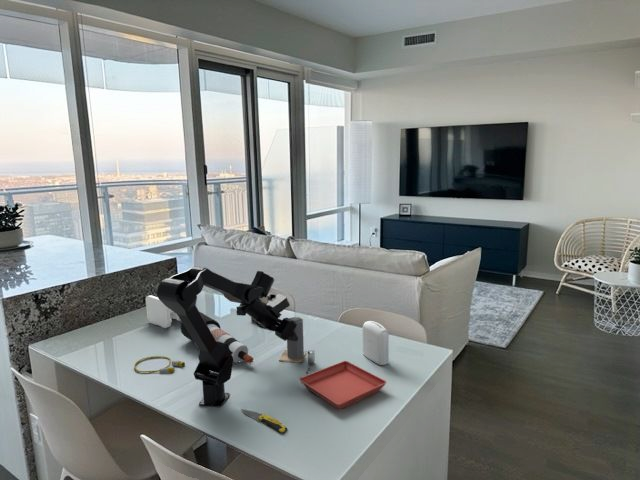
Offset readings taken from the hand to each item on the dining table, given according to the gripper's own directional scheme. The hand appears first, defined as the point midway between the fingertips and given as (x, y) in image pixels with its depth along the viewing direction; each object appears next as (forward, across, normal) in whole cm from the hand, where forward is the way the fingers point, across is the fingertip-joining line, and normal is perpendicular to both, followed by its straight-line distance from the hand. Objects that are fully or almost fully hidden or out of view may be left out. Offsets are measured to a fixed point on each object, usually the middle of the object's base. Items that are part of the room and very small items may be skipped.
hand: (289, 335), depth 143 cm
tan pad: (+7, +1, +4) cm, 9 cm away
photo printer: (+21, -18, -9) cm, 29 cm away
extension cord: (-18, +24, +31) cm, 43 cm away
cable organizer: (-7, +60, +19) cm, 64 cm away
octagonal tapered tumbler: (+7, 0, +4) cm, 8 cm away
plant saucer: (+7, -25, +6) cm, 27 cm away
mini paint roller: (+7, -9, +5) cm, 12 cm away
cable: (-4, +20, +17) cm, 27 cm away
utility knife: (-11, -24, +24) cm, 35 cm away
